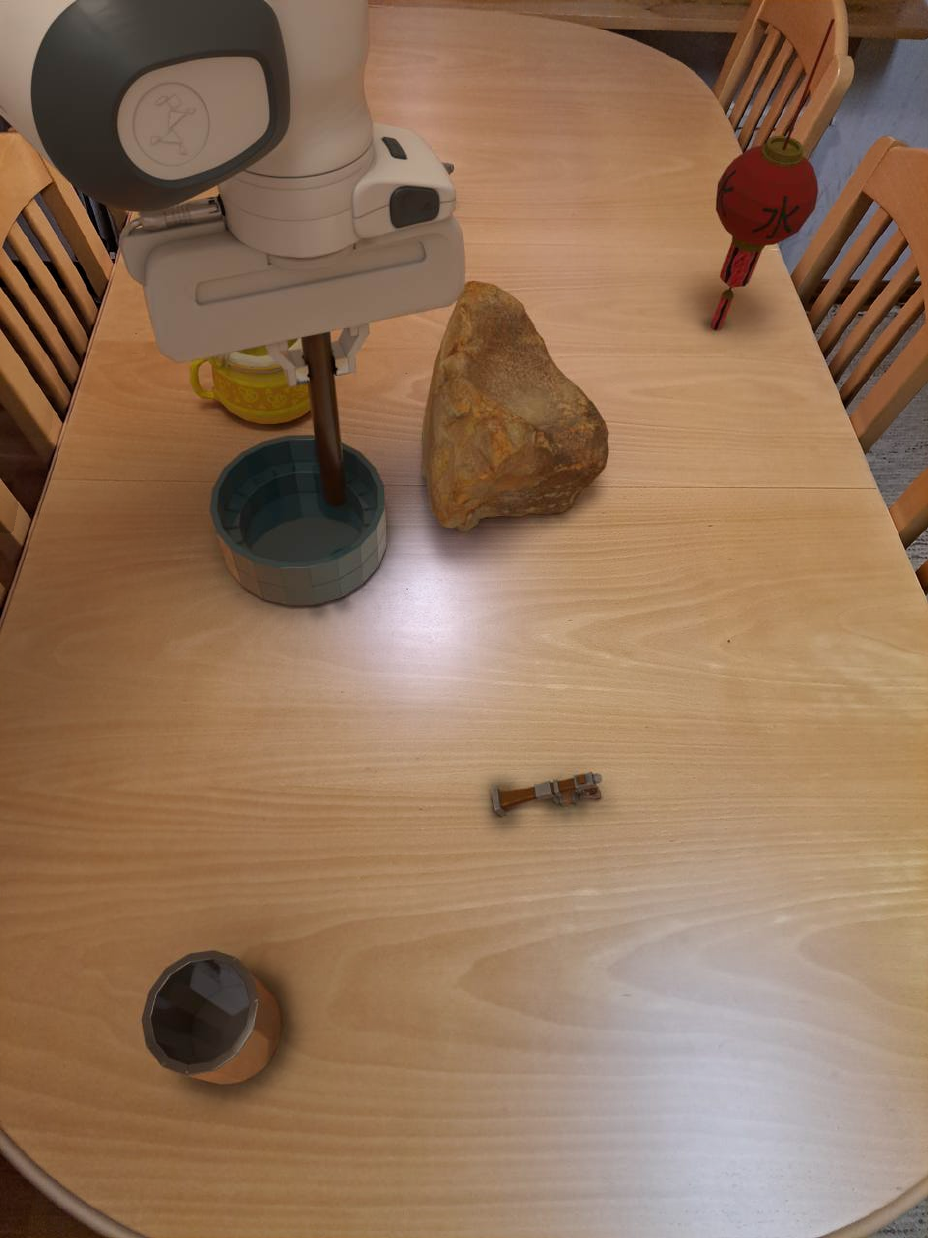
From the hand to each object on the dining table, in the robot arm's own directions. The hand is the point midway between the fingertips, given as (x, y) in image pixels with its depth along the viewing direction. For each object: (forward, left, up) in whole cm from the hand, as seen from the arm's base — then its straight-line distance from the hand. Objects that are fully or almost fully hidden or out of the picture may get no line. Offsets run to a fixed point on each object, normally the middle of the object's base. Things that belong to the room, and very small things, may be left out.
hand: (320, 373), depth 59 cm
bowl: (-3, 0, -18) cm, 19 cm away
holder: (-18, -36, -18) cm, 44 cm away
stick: (0, 0, -14) cm, 14 cm away
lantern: (+48, +14, -19) cm, 53 cm away
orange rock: (+17, +1, -19) cm, 25 cm away
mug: (-2, +19, -19) cm, 27 cm away
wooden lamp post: (+7, -29, -19) cm, 35 cm away
